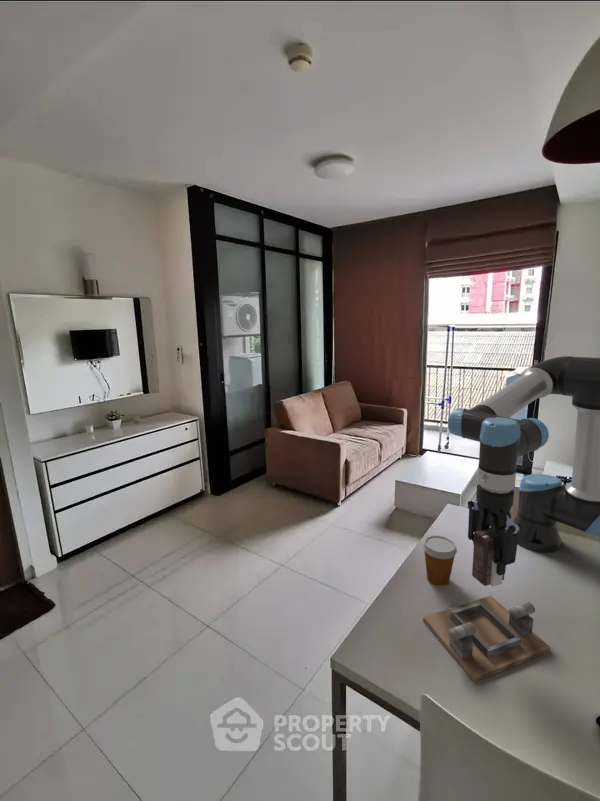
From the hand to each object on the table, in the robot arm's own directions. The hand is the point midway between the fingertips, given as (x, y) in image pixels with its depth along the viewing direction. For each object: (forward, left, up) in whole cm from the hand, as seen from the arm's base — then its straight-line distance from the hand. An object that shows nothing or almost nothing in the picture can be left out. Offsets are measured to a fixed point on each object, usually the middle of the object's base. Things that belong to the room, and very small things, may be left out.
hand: (487, 577), depth 90 cm
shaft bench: (0, 0, -16) cm, 16 cm away
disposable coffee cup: (-3, -21, -17) cm, 27 cm away
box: (0, 0, 0) cm, 1 cm away
